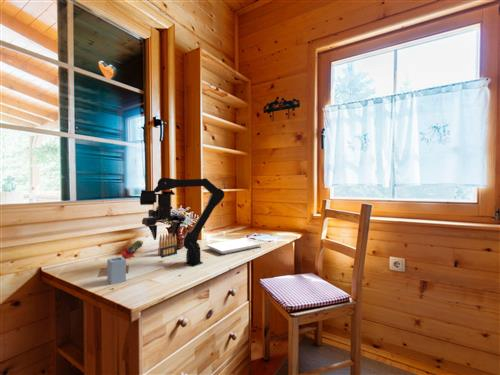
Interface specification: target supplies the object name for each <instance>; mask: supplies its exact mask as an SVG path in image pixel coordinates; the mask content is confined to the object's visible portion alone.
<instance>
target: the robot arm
mask: <svg viewBox="0 0 500 375" xmlns="http://www.w3.org/2000/svg"><path fill="white" fill-rule="evenodd" d="M190 187H191V188H193V187H194V188H195V187H203V188H204V189H206V191H208V192H209V194H210V195H209V198H208V201H207V204H206V206H205V207H204V209H203V211H202V212H201V213H200V215H199V217H198V219H197V220H196V222H195V224H194V225H193V227H192V228H191V229H190V230H189V229H187V230H186V232H185V234H184V235H183V236H182V237H183V238H182V239H183V240H182V242H183V243H182V245H183V247H184V248H185V249H186V256H185V259H186V260H185V261H186V262H185V261H184V263H183V264H184V265H187V266H191V267H195V266H198V265H201V264H203V263H204V262H203V261H202V260H201V246H200V243H198V239H199V237H200V232H202V229H203V228H204V226H205V225H206V223H207V222H208V220H209V218H210V216H211V215H212V212H213V211H214V209H215V208H216V207H217V206H218V205H219V204H220V203H221V202H222V200H223V199H224V198H225V191H224V190H223V189H221V188H218V187H216V186H215V185H214V183H213V182H211V181H210V180H209V179H208V178H204V177H203V178H188V179H186V178H183V179H176V178H170V177H161V178H160V179H159V180H157V185H156V186H155V188H154V189H153V190H145V189H141V191H140V197H139V204H140V206H154V205H155V203H157V206H156V209H148V210H147V211H148V213H147V214H148V216H147V217H143V218H142V220H141V225H144V226H146V227H148V228H149V231H151V232H150V233H151V235H152V238H153V240H154V241H156V240H157V233H158V229H157V228H158V224H157V223H165V222H171V226H172V230H171V234H172V236H173V238H174V236H175V234H177V232H178V230H179V228H180V226H181V224H183V222H185V221H186V217H185V215H184V214H183V215H182V214H172V210H173V206H172V196H174V195H176V193H175V192H174V191H173V190H174V189H177V188H190ZM172 189H173V190H172ZM162 191H163V192H162ZM160 192H162V193H160Z"/></svg>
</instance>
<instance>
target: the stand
mask: <svg viewBox="0 0 500 375" xmlns="http://www.w3.org/2000/svg"><path fill="white" fill-rule="evenodd" d="M129 268H130V265H129V264H128V265H127V264H126V275H127V274H129ZM101 277H107V267H102V268H100V269H99V272H98V275H97V278H101Z"/></svg>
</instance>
